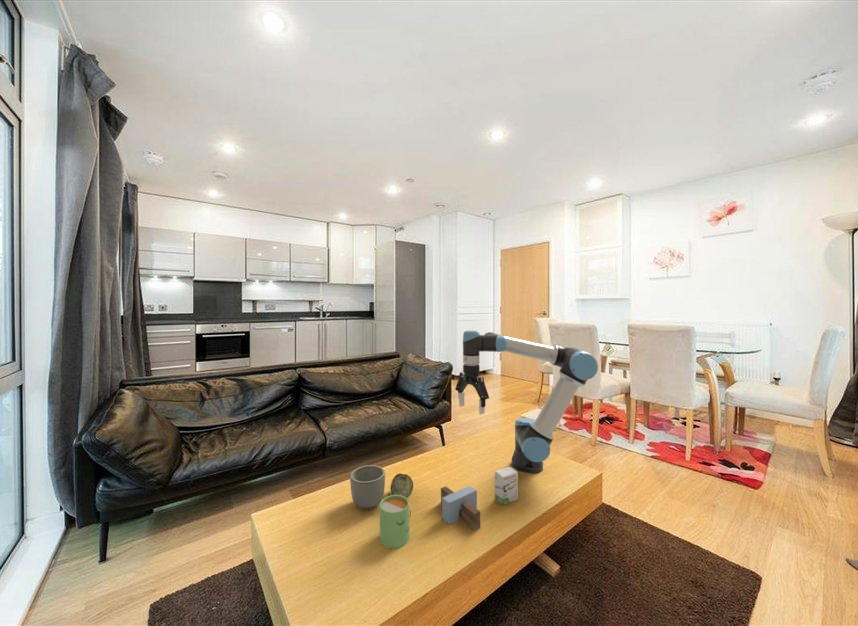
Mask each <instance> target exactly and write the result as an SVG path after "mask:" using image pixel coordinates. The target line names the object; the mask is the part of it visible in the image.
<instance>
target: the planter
mask: <svg viewBox="0 0 858 626" xmlns="http://www.w3.org/2000/svg"><path fill="white" fill-rule="evenodd" d="M349 482H350V484H349V485H350V493H351V494H350V495H351V499H352V501H353V504H354V505H355V506H356V507H358V508H359V509H361V510H363V511H371V510H373V509H375V508H376V507H377V506H378V505H380V502H381V501H382V500H383V499H384V494H385V487H386V486H385V484H386V472H385V469H384V468H383V467H382V466H379V465H375V464H367V465H362V466H359V467H357V468H355V469H354V470H352V471H351V473H350V476H349Z"/></svg>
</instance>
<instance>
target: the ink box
mask: <svg viewBox="0 0 858 626" xmlns="http://www.w3.org/2000/svg"><path fill="white" fill-rule="evenodd" d="M518 485H519V472H518V470H516V469H515V468H514V467H512V466H507V467H504V468H501V469H497V470H496V471H494V500H495V501H496V502H498V503H499V504H500V505H502V506H504V505H507V504H510V503H512V502H514V501H517V500H519V495H518V493H519V491H518V490H519V486H518Z"/></svg>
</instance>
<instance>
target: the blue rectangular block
mask: <svg viewBox="0 0 858 626" xmlns="http://www.w3.org/2000/svg"><path fill="white" fill-rule="evenodd" d="M453 492H454V493H452V494H450V495H447V496H445V497H443V498H442V503H441V508H442V509H441V515H442V516H441V518H442V520H443V521H444V522H445V523H447V525H451V524H452V523H455V522H456V521H459V520H460V518H459V510H462V503H464V502H466V501H467V502H468V503H470V504H471V505H472V506H474V507H475V508H476V509H478V491H477V489H475V488H474V487H473V486H471V485H468V486H466V487H463V488H461V489H459V490H457V491H453Z"/></svg>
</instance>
